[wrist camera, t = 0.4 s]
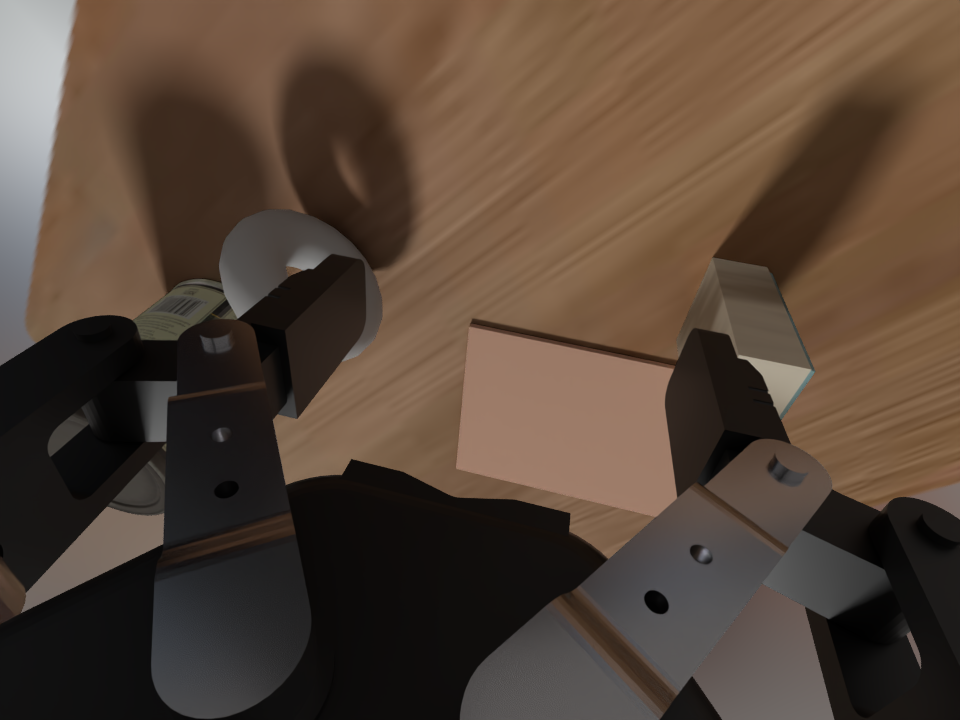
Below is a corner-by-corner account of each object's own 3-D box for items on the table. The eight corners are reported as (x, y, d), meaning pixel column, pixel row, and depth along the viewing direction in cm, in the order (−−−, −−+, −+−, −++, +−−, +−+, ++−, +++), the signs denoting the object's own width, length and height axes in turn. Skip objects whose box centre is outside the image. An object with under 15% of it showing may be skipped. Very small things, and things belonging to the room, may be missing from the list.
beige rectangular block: (712, 257, 28) (739, 354, 22) (772, 268, 28) (819, 371, 21) (676, 339, 32) (689, 444, 26) (729, 350, 32) (756, 459, 25)
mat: (470, 323, 35) (469, 326, 35) (766, 384, 33) (768, 388, 33) (457, 465, 46) (456, 468, 45) (681, 519, 43) (682, 523, 43)
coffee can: (230, 390, 46) (111, 523, 36) (144, 298, 41) (-24, 422, 30) (312, 366, 42) (204, 510, 31) (227, 260, 37) (63, 389, 26)
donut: (414, 288, 34) (354, 384, 27) (383, 312, 36) (319, 408, 29) (298, 172, 31) (192, 245, 23) (271, 205, 33) (165, 283, 25)
